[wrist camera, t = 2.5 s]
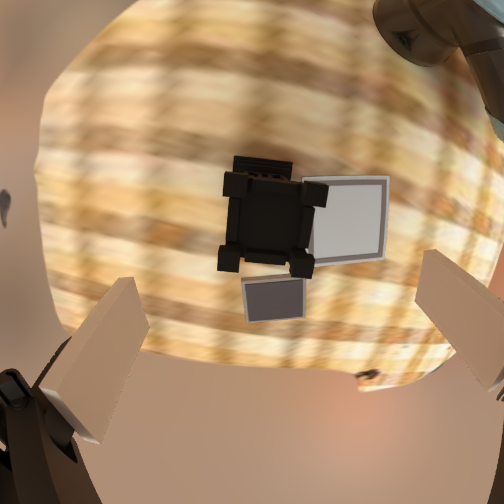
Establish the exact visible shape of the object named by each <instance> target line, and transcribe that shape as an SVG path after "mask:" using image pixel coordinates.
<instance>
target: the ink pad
mask: <svg viewBox="0 0 504 504" xmlns="http://www.w3.org/2000/svg"><path fill="white" fill-rule="evenodd" d="M241 283H242V292H243V300H244V308H245V317H246V323H253V322H266V321H277V320H288V319H297V318H305V309H306V279H305V278H292V277H291V275H290V274H284V275H272V276H260V277H248V278H241Z"/></svg>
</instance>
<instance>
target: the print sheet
mask: <svg viewBox="0 0 504 504" xmlns="http://www.w3.org/2000/svg"><path fill="white" fill-rule="evenodd" d="M304 180H306V181H313V182H319V183H325V184H327V185H329V192H328V198H327V203H326V208H322V207H315V206H313V207H314V208H315V214H314V220H313V226H312V231H311V237H310V242H309V247H308V249H307V248H306V249H305V250H306V252H307V253H308V254H313V256H314V258H315V265H314V267H318V266H328V265H338V264H348V263H358V262H367V261H377V260H384V259H385V250H386V239H387V227H388V211H389V176H386V175H349V176H313V177H302V182H303V183H304Z"/></svg>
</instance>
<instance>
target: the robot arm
mask: <svg viewBox="0 0 504 504" xmlns="http://www.w3.org/2000/svg"><path fill="white" fill-rule="evenodd" d="M373 16H374V20H375V23H376V26H377V28H378V30H379V32H380V33H381V35H382V36H383V38H384V39H385V40H386V42H387V43H388V44H389V45H390V46H391V47H392V48H393V49H394V50H395V51H396V52H397V53H398V54H400V55H401V56H402V57H404V58H405V59H407V60H408V61H410V62H412V63H414V64H417V65H420V66H425V67H430V66H435V65H438V64H441V63H443V62H445V61H446V60H447V59H448V58H449V56H450V55H451V54H452V53H453V52H454V51H455V50H456V49H457V48H458V47H460V49H461V50H462V52H463V54H464V56H465V59H466V61H467V63H468V65H469V67H470V69H471V71H472V73H473V76H474V78H475V81H476V83H477V86H478V88H479V91H480V93H481V96H482V99H483V102H484V104H485V110H486V112H487V114H488V115H489V118H490V121H491V123H492V126H493V129H494V132H495V134H496V135H497V137H498V138H499V139H500V140H501V141H503V142H504V0H376V2H375V4H374V7H373ZM498 49H500V50H498ZM493 50H494V51H493ZM487 51H489V52H487ZM483 52H484V53H483ZM478 53H479V54H478ZM473 54H474V55H473ZM469 55H470V56H469ZM415 302H416V303H417V305H418V306H419V307H420V308H421V309H422V310H423V312H424V313H425V314H426V315H427V316H428V317H429V319H430V320H431V321H432V322H433V323H434V324H435V326H436V327H437V328H438V329H439V330H440V332H441V333H442V334H443V335H444V337H445V338H446V339H447V340H448V342H449V343H450V344H451V345H452V347H453V348H454V349H455V350H456V352H457V353H458V354H459V355H460V357H461V358H462V360H463V361H464V362H465V364H466V365H467V366H468V368H469V369H470V370H471V372H472V373H473V375H474V376H475V377H476V379H477V380H478V382H479V383H480V384H481V386H482V387H483V389H484V390H485V392H486V393H488V392H490V391H491V390H493V389H495V388H496V387H498V386H499V384H500V383H501V381H502V380H503V378H504V302H503V301H502V300H501V299H500V298H498V297H497V296H496V295H495V294H494V293H492V292H491V291H490V290H489V289H488V288H486V287H485V286H484V285H483V284H481V283H480V282H479V281H478V280H476V279H475V278H474V277H473V276H471V275H470V274H469V273H467V272H466V271H465V270H464V269H462V268H461V267H460V266H458V265H457V264H456V263H454V262H453V261H451V260H450V259H449V258H447V257H446V256H445V255H443V254H442V253H440V252H439V251H437V250H436V249H435V250H427V251H424V256H423V262H422V268H421V273H420V278H419V283H418V288H417V293H416V297H415ZM149 328H150V327H149V324H148V321H147V318H146V316H145V313H144V310H143V306H142V303H141V300H140V297H139V294H138V291H137V287H136V284H135V280H134V277H123V278H118V279H117V281H116V282H115V283H114V284H113V285H112V287H111V288H110V289H109V290H108V291H107V293H106V294H105V295H104V296H103V298H102V299H101V300H100V301H99V303H98V304H97V305H96V306H95V308H94V309H93V310H92V311H91V313H90V314H89V315H88V317H87V318H86V319H85V320H84V322H83V323H82V324H81V326H80V327H79V328H78V330H77V331H76V332H75V334H74V335H73V337H70V338H69V339H67V340H66V341H65V342H64V343H63V344H61V346H60V347H59V348H58V350H57V351H56V352H55V355H53V357H52V358H51V360H50V363H48V364H47V365H46V367H45V368H44V370H43V371H42V373H41V374H40V376H39V377H38V379H37V380H36V382H35V383H34V385H33V386H32V388H30V387H29V385H28V384H27V382H26V381H25V379H24V378H23V377H22V375H21V374H20V372H19V371H18V370H16V369H12V368H11V369H6V370H4V371H3V372H1V373H0V441H1V442H2V443H3V444H4V445H5V446H6V450H5V451H3V450H2V449H0V504H102V502H101V500H100V498H99V497H98V494H97V492H96V490H95V488H94V486H93V484H92V481H91V479H90V477H89V474H88V472H87V470H86V467H85V465H84V462H83V459H82V457H81V454H80V452H79V449H78V446H77V443H76V441H75V440H74V438H73V437H72V435H73V433H74V431H76V432H77V433H78V434H79V435H80V436H81V438H82V439H83V440H86V441H90V442H93V443H97V444H102V441H103V438H104V435H105V433H106V430H107V427H108V425H109V422H110V419H111V417H112V414H113V412H114V409H115V407H116V404H117V402H118V399H119V397H120V394H121V392H122V389H123V387H124V384H125V382H126V380H127V377H128V375H129V373H130V371H131V368H132V366H133V363H134V361H135V359H136V357H137V355H138V352H139V350H140V348H141V346H142V343H143V341H144V339H145V337H146V335H147V333H148V330H149ZM503 394H504V387H503V389H502V390H501V392H500V393H499V394H498V396H497V399H496V400H499V399H500V397H501V396H502V395H503ZM501 401H504V397H503V398H502V400H501ZM487 504H504V424H503V434H502V441H501V448H500V454H499V459H498V464H497V469H496V475H495V478H494V482H493V486H492V489H491V493H490V496H489V500H488V503H487Z"/></svg>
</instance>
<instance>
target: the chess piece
mask: <svg viewBox="0 0 504 504" xmlns="http://www.w3.org/2000/svg"><path fill="white" fill-rule="evenodd" d="M292 164H293V163H292V162H285V161H277V160H269V159H261V158H251V157H241V156H234V162H233V172H228V171H226V172H225V173H224V184H223V196H226V197H230V198H229V205H228V217H227V229H226V244H225V245H220V247H219V250H218V264H217V271H225V272H236V273H239V262H240V257H243V258H245V262H252V263H263V264H274V265H285V263H286V262H289V264H290V269H289V272H290V275H291V277H292V278H305V279H312V274H313V270H314V265H315V258H314V256H313V254H308V253H307V252H306V250H305V249H306V248H307V249H308V247H309V242H310V237H311V231H312V226H313V220H314V214H315V208H314V207H313V206H315V207H322V208H326V203H327V198H328V192H329V185H327V184H325V183H319V182H313V181H306V180H304V183H303V182H295V181H290V179H291V172H292Z"/></svg>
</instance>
